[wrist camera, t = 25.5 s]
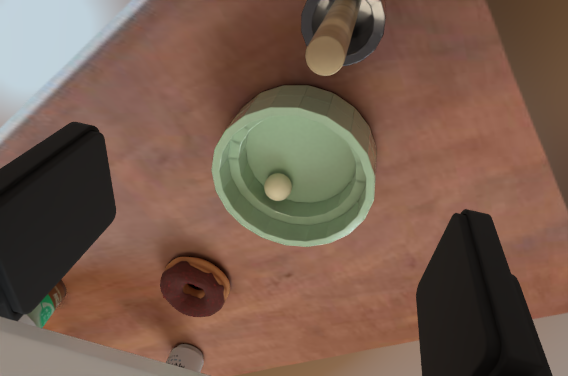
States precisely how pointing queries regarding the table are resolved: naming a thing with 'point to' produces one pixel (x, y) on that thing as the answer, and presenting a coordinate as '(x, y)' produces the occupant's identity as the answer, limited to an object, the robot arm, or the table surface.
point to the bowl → (297, 166)
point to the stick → (333, 38)
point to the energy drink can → (186, 357)
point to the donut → (198, 275)
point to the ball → (277, 186)
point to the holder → (365, 28)
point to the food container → (45, 307)
